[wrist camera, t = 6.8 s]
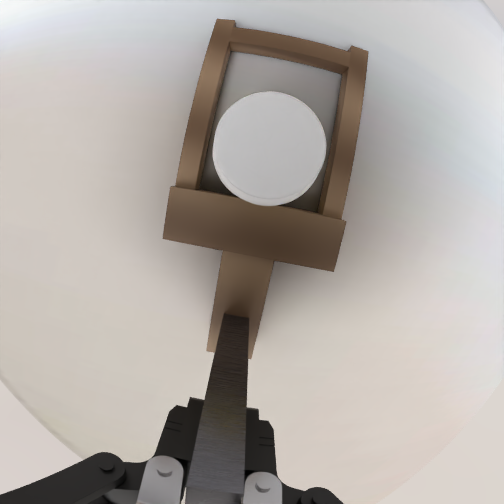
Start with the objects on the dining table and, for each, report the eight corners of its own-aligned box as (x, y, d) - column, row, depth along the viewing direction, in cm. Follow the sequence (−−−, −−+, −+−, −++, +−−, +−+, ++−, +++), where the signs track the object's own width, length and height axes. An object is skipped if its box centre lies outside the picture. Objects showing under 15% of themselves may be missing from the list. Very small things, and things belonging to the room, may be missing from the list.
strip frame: (219, 29, 15) (179, -127, 2) (360, 59, 16) (476, -55, 2) (163, 337, 20) (81, 492, 6) (294, 361, 20) (328, 531, 7)
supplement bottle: (315, 155, 17) (362, 132, 9) (274, 214, 18) (290, 238, 10) (252, 113, 17) (252, 59, 9) (211, 173, 18) (176, 163, 10)
